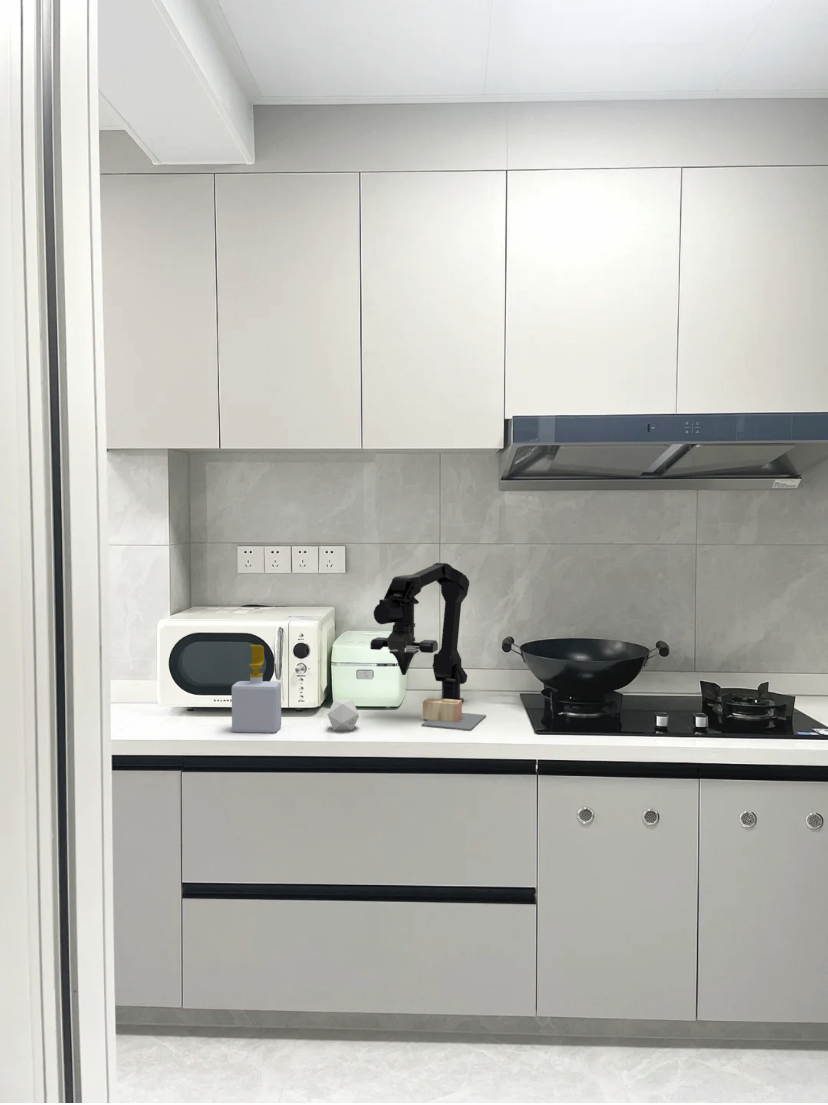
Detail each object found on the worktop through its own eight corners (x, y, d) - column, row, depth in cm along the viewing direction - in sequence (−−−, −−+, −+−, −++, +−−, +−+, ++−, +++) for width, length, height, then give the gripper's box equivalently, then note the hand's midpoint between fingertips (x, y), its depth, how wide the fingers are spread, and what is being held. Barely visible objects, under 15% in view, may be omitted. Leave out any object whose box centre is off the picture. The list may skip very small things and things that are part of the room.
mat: (439, 712, 242) (439, 710, 242) (486, 716, 238) (486, 714, 237) (421, 726, 227) (421, 724, 227) (470, 730, 223) (470, 729, 222)
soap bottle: (231, 732, 221) (230, 645, 219) (238, 726, 227) (237, 641, 226) (276, 733, 220) (275, 646, 219) (281, 726, 227) (281, 642, 225)
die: (346, 737, 218) (365, 706, 221) (318, 720, 220) (338, 689, 222) (348, 740, 226) (366, 710, 229) (321, 723, 227) (340, 693, 230)
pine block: (428, 697, 237) (461, 700, 234) (428, 714, 238) (461, 717, 234) (422, 701, 233) (456, 704, 229) (422, 718, 233) (456, 722, 230)
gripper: (363, 622, 231) (363, 678, 232) (427, 626, 225) (427, 682, 226) (377, 617, 242) (377, 670, 242) (438, 620, 236) (438, 674, 237)
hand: (403, 674), depth 237 cm, fingers closed
